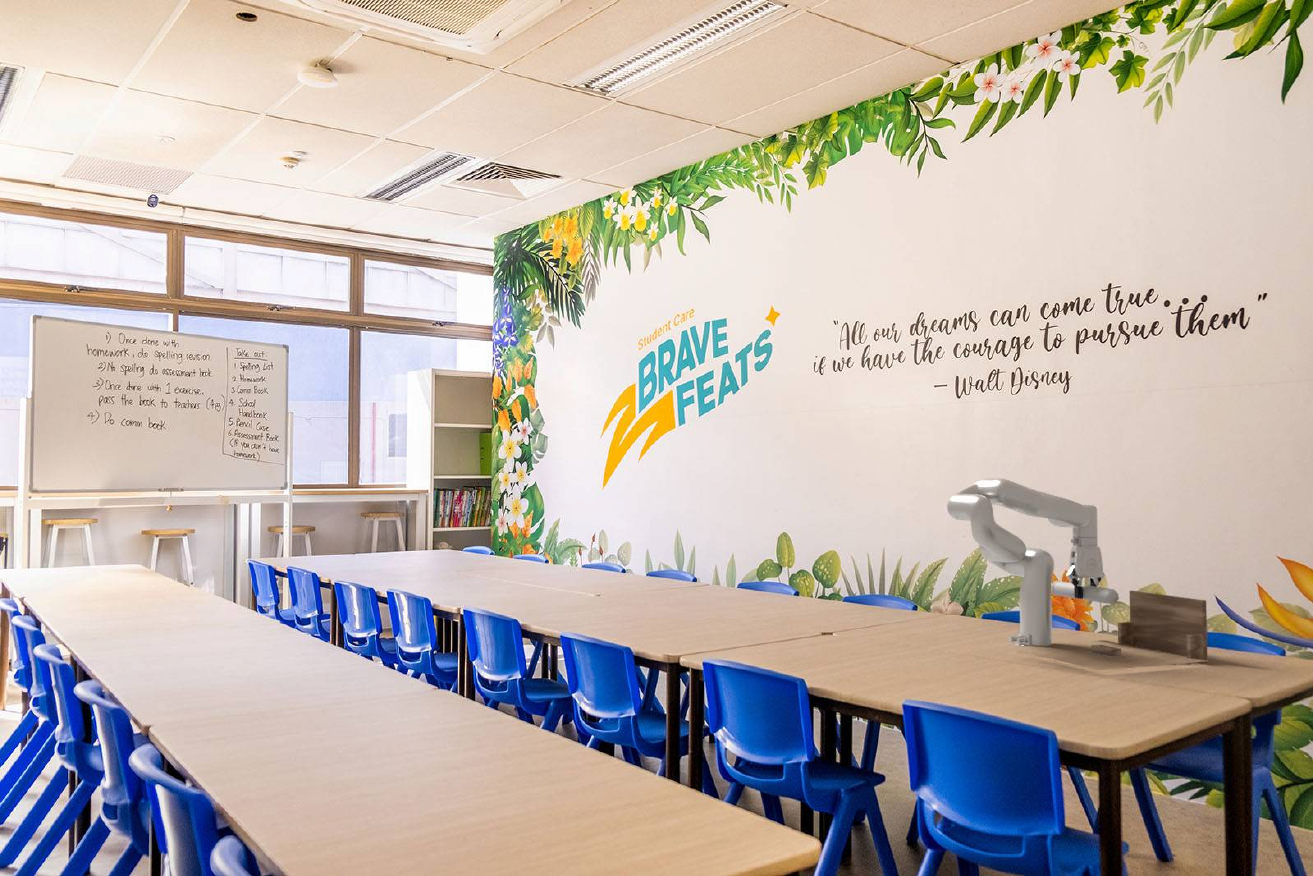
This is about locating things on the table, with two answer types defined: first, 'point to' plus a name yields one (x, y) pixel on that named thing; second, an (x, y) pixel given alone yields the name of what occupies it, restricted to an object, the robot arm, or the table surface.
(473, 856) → the table surface
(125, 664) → the table surface
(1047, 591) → the robot arm
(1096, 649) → the offcut top
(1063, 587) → the tube
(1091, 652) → the offcut low
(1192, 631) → the wooden panel stand
